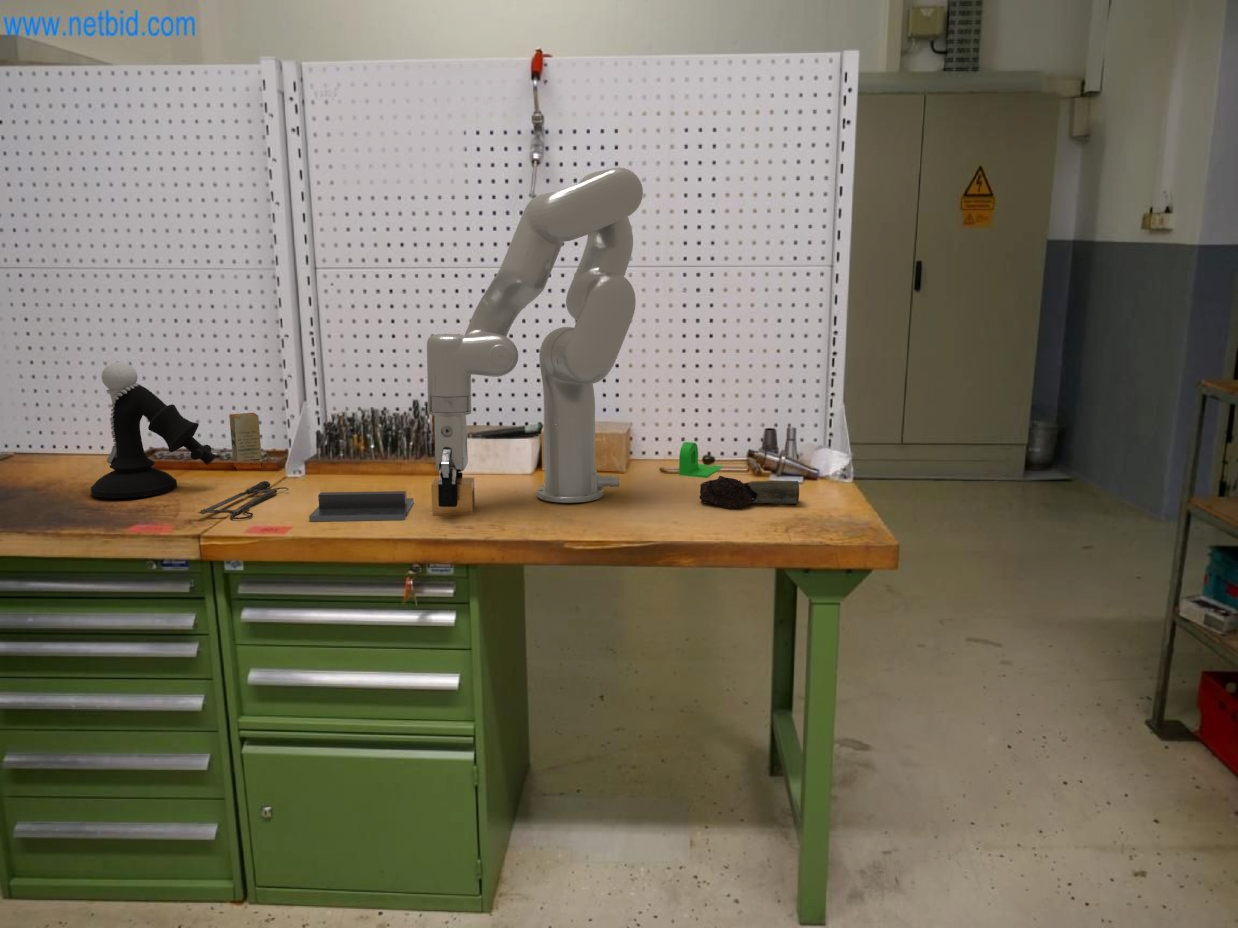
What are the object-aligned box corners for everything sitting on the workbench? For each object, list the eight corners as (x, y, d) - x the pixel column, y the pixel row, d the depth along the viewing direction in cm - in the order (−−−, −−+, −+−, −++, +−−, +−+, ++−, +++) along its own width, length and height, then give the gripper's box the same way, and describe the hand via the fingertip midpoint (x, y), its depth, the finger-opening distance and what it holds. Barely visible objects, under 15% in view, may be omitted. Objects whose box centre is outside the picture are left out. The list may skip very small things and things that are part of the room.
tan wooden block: (475, 506, 174) (474, 477, 173) (472, 514, 168) (471, 484, 167) (436, 507, 173) (435, 477, 172) (432, 515, 167) (431, 485, 166)
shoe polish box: (257, 466, 209) (253, 412, 206) (262, 470, 205) (258, 415, 202) (233, 469, 206) (229, 414, 204) (238, 473, 202) (233, 417, 200)
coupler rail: (413, 503, 176) (412, 484, 175) (403, 519, 164) (403, 500, 163) (325, 504, 175) (324, 486, 174) (309, 521, 163) (308, 501, 162)
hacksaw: (262, 486, 188) (261, 479, 188) (310, 485, 186) (309, 478, 186) (191, 521, 165) (190, 513, 164) (245, 520, 163) (244, 512, 163)
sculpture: (114, 481, 194) (101, 358, 189) (232, 480, 195) (222, 358, 190) (75, 498, 179) (60, 366, 174) (202, 498, 180) (191, 366, 175)
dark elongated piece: (796, 501, 175) (795, 471, 174) (800, 509, 168) (800, 478, 167) (699, 503, 176) (699, 473, 175) (700, 511, 169) (700, 480, 168)
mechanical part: (706, 485, 192) (707, 446, 191) (678, 482, 195) (679, 444, 193) (726, 474, 203) (727, 437, 201) (699, 471, 205) (700, 435, 204)
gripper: (466, 412, 158) (467, 511, 162) (474, 399, 175) (475, 489, 179) (421, 411, 158) (423, 511, 161) (433, 398, 175) (435, 489, 178)
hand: (450, 499), depth 170 cm, fingers open, 9 cm apart
